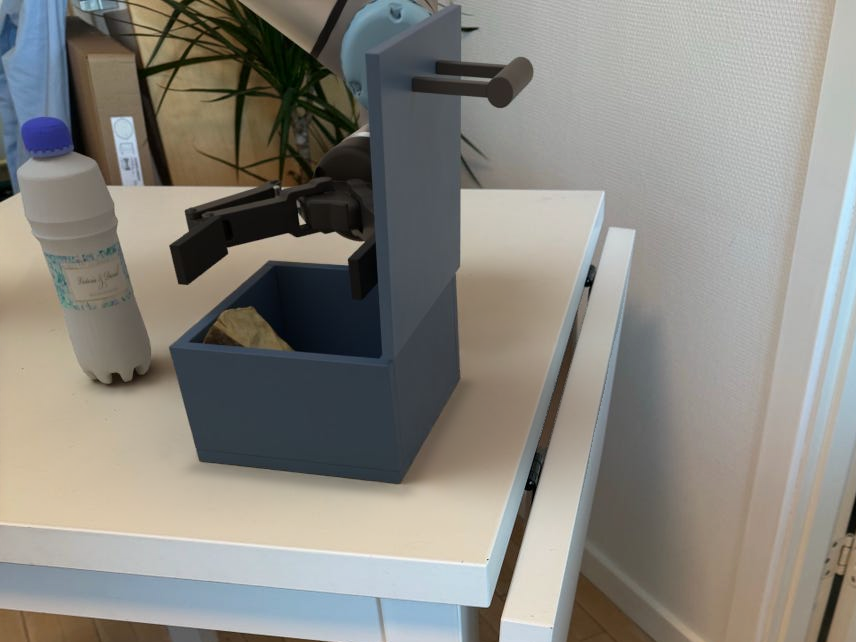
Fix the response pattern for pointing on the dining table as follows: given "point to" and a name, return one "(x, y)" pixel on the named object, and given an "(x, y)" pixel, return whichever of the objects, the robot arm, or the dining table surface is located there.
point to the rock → (244, 331)
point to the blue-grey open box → (317, 379)
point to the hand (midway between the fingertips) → (264, 272)
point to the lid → (422, 161)
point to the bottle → (82, 252)
